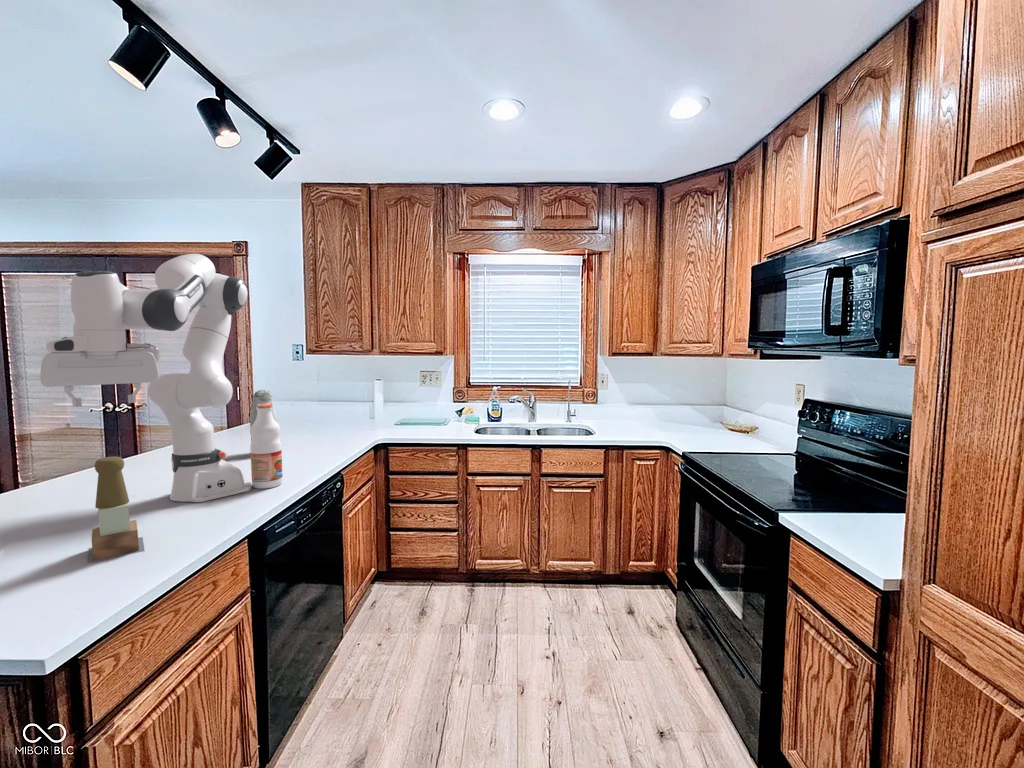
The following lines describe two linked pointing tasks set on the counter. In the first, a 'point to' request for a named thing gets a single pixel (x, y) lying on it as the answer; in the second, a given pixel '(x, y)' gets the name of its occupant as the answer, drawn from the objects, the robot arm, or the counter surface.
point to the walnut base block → (114, 542)
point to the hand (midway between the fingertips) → (105, 404)
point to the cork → (110, 483)
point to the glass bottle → (261, 398)
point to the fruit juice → (265, 449)
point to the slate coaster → (141, 548)
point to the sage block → (114, 520)
